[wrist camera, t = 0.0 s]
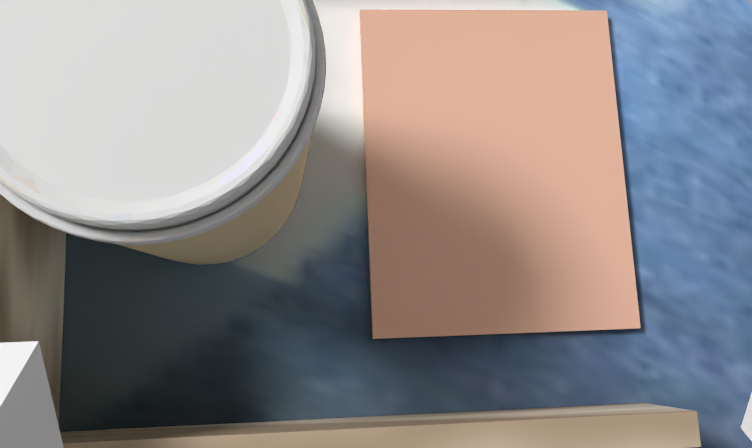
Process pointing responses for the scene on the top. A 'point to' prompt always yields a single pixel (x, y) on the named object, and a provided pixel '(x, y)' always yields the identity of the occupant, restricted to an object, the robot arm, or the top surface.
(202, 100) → the coffee cup
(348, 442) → the bay
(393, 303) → the front mat
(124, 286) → the top surface
